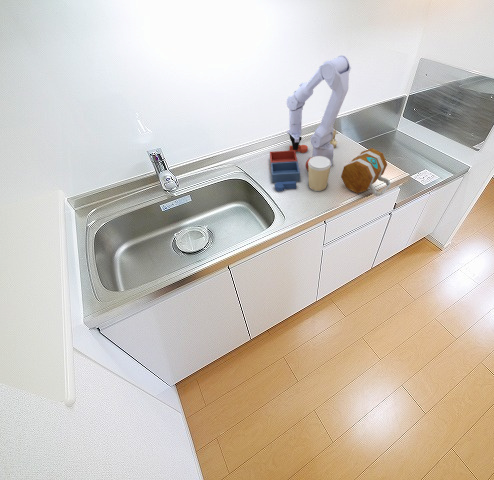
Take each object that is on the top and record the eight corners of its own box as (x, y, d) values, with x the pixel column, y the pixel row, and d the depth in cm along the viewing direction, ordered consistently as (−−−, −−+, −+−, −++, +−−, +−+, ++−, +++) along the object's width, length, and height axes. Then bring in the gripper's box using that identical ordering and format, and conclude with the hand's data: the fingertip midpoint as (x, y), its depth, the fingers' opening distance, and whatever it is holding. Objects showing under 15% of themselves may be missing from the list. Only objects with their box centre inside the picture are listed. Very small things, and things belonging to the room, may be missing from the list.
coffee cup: (331, 182, 122) (334, 158, 113) (323, 194, 116) (326, 170, 107) (311, 177, 124) (313, 153, 115) (303, 188, 119) (304, 164, 110)
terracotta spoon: (290, 153, 138) (290, 148, 136) (289, 149, 141) (289, 144, 139) (308, 152, 138) (308, 147, 136) (306, 148, 141) (307, 143, 139)
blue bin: (271, 171, 128) (270, 162, 124) (297, 169, 128) (297, 161, 125) (272, 183, 122) (272, 174, 118) (299, 181, 122) (300, 172, 119)
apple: (317, 179, 123) (318, 164, 117) (302, 174, 126) (302, 158, 120) (325, 170, 128) (327, 155, 122) (310, 165, 131) (311, 150, 125)
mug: (353, 155, 106) (371, 141, 114) (335, 176, 118) (352, 161, 126) (388, 192, 106) (404, 175, 114) (366, 209, 117) (382, 192, 125)
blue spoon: (295, 184, 121) (295, 179, 119) (296, 190, 118) (296, 185, 116) (274, 185, 120) (274, 180, 118) (275, 192, 117) (275, 186, 115)
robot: (337, 141, 145) (341, 113, 134) (336, 149, 140) (340, 120, 129) (317, 139, 147) (320, 111, 136) (315, 147, 141) (318, 118, 130)
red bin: (270, 160, 134) (269, 151, 131) (295, 158, 135) (295, 150, 131) (271, 170, 128) (270, 162, 125) (297, 169, 129) (297, 160, 125)
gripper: (285, 115, 133) (285, 141, 143) (288, 129, 123) (288, 156, 133) (300, 114, 133) (299, 140, 143) (304, 129, 124) (302, 155, 134)
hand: (295, 148), depth 138 cm, fingers closed on terracotta spoon
